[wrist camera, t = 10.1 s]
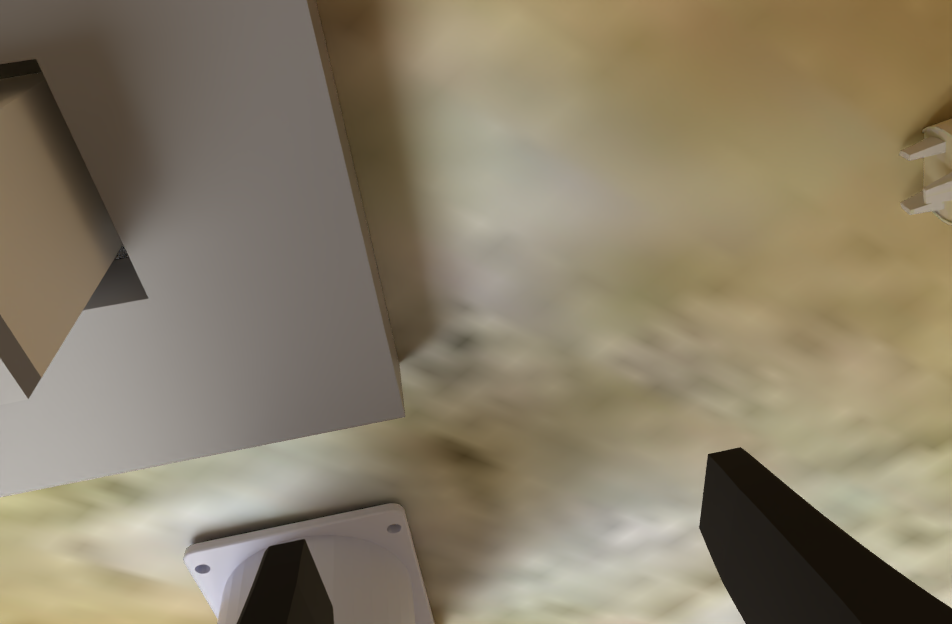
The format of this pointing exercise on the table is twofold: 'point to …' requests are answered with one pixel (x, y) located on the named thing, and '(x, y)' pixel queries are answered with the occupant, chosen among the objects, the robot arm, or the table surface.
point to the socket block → (203, 241)
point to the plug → (43, 234)
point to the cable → (933, 172)
